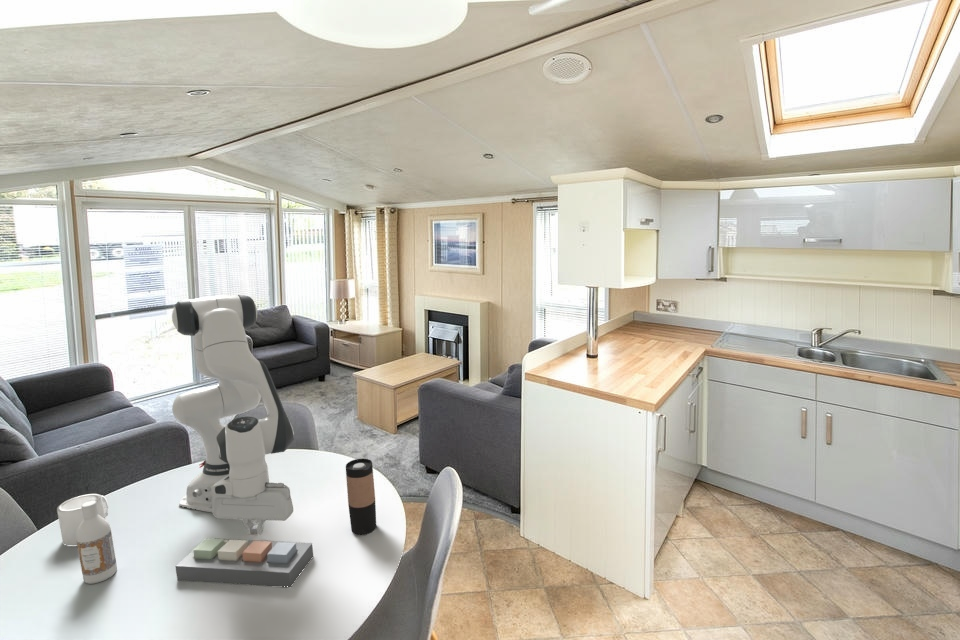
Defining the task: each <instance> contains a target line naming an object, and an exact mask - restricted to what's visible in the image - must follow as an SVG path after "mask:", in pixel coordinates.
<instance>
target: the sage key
mask: <svg viewBox="0 0 960 640" xmlns="http://www.w3.org/2000/svg"><path fill="white" fill-rule="evenodd" d="M208 538H209V537H207V538H205V539H204V540H202V542H201V543H199V544H198V545H197V546H195V548H194V549H193V550H192V551H193V552H194V559H211V560H212V559H213V558H215V557H216V556H217V555H218V550H219V549H220V548H221V547H223V546H224V539H225V538H221V539H208Z"/></svg>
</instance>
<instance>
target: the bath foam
mask: <svg viewBox="0 0 960 640" xmlns="http://www.w3.org/2000/svg"><path fill="white" fill-rule="evenodd" d="M82 513H83V518H84V519H83V521H82V522H81V524H80V526H79V528H78V531H77V535H76V541H77V546H76V547H77V551H78V557H79V562H80V569H81V572H82V578H83V582H84V583H85V584H90V585H91V584H97V583H101V582H103V581H106V580H108V579H110V577H112V576H114V574H116V572H117V570H118V566H117V560H116V559H117V558H116V553H115V546H114V540H113V534H112V533H113V532H112V528H111V526H110V524H109V522H108V521H107V520H106V518H105V519H104V518H103V517H101V516H100V515H98V511H97V505H96V501H89V502H86V503H84V504H83V505H82Z"/></svg>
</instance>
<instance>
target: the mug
mask: <svg viewBox="0 0 960 640" xmlns="http://www.w3.org/2000/svg"><path fill="white" fill-rule="evenodd" d="M89 501H96V505H97V511H98V515H100V516H101V517H103V518H104V519H105V520H106V518H107V516H108V515H109V504H108V503H109V502H108V500H107V497H105V496H104V495H101V494H99V493H88V494H82V495H79V496H75V497H72V498H70V499H67V500H65V501H64V502H62V503H61V504H59V505H58V506H57V508H56V512H57V517H58V523H59V528H60V535H61V538H62V539H61V540H62V544H63V543H64V544H66V545H77V541H76V535H77V531H78V528H79V526H80V524H81V522H82V521H83V519H84V518H83V513H82V505H83V504H84V503H86V502H89ZM64 544H63V545H64Z"/></svg>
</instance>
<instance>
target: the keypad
mask: <svg viewBox="0 0 960 640" xmlns="http://www.w3.org/2000/svg"><path fill="white" fill-rule="evenodd" d="M207 538H208V539H222V538H217V537H215V538H214V537H207ZM223 539H224V545H225V544H226V543H227V542H228V541H229V540H242V539H239V538H237V539H236V538H223ZM246 540H247V541H248V546H249V545H250V544H251V543H252V542H253V541H262V540H257V539H246ZM267 541H268V542H272V548H273V547H274V546H275V545H276V544H277V542H282V541H280V540H278V541H275V540H267ZM287 542H288V543H296V548H297V552H296V554H295V555H294V556H293V557H292V559H291V560H290V561H289V562H288V564H282V563H268V556H267V557H266V558H265V559H264V561H263V562H246V561H243V555H242V556H241V557H240V558H239V559H238V560H237V561H229V560H219V559H218V555H217V556H216V557H215V558H213V559H212V560H211V559H194V552H193V550H192V551H191V552H189V554H187V555H186V556H184V558H183V559H182V560H181V561H179V562H178V563H177V564H176V565H175V573H176V579H177V581H178V582H180V581H181V582H182V581H183V582H196V583H197V582H198V583H210V584H226V585H227V584H228V585H229V584H230V585H241V586H243V585H244V586H256V587H257V586H259V587H272V586H282V587H281V588H287V586H288V587H291V588H292V586H293V585H294V584H295V582H296V581H297V580H296V578H297V577H298V576H299V574H300V573H301V572H302V570H303V569H304V568H305V569H306V567H307V566H308V565H307V564H309V563H310V562H311V561H312V559H313V558H314V550H313V542H300V541H299V542H297V541H287ZM312 557H313V558H312ZM311 558H312V559H311ZM310 560H311V561H310ZM309 561H310V562H309ZM308 562H309V563H308ZM306 565H307V566H306ZM305 566H306V567H305ZM305 569H304V570H305ZM304 570H303V571H304ZM302 573H303V572H302ZM302 573H301V574H302ZM301 574H300V575H301ZM299 577H300V576H299ZM299 577H298V578H299ZM298 578H297V579H298ZM295 580H296V581H295ZM294 581H295V582H294ZM293 583H294V584H293ZM292 584H293V585H292ZM291 585H292V586H291ZM284 586H285V587H284Z"/></svg>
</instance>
